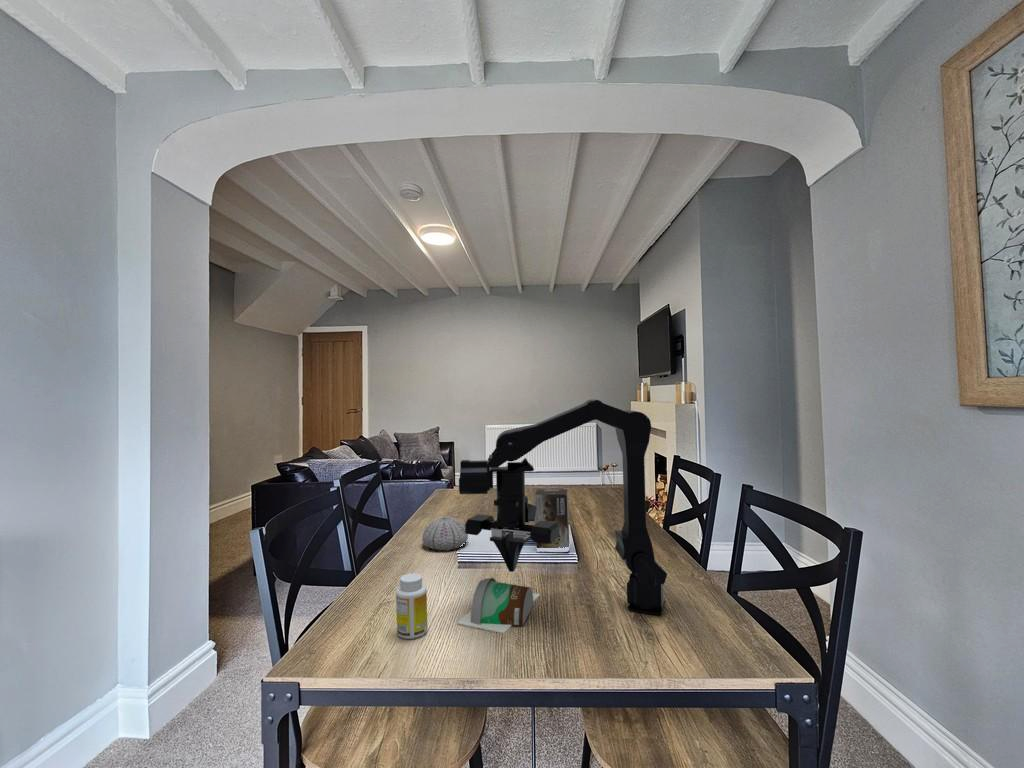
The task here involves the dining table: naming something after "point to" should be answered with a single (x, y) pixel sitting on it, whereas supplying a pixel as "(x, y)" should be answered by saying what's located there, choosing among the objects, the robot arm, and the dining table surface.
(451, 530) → the sea urchin shell
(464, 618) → the mat
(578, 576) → the dining table surface
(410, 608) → the supplement bottle
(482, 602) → the food container
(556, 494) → the coffee box
